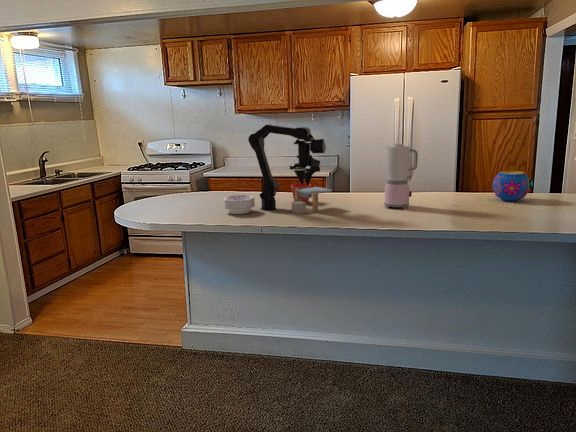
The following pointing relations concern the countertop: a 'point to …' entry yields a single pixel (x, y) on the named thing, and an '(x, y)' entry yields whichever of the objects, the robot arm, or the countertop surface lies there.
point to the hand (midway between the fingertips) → (305, 184)
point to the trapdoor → (312, 191)
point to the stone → (298, 207)
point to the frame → (314, 201)
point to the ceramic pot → (511, 185)
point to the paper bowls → (239, 203)
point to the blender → (398, 175)
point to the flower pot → (300, 186)
